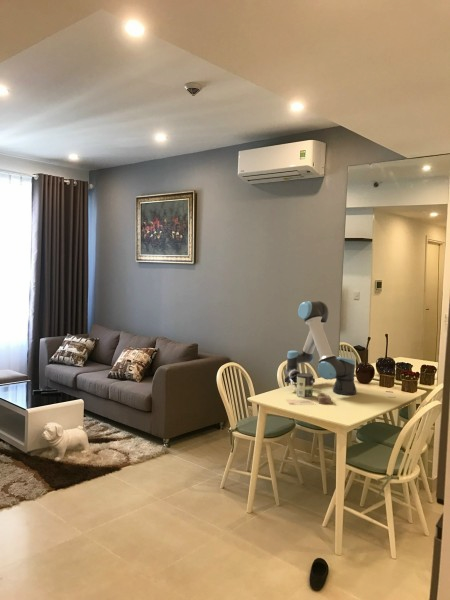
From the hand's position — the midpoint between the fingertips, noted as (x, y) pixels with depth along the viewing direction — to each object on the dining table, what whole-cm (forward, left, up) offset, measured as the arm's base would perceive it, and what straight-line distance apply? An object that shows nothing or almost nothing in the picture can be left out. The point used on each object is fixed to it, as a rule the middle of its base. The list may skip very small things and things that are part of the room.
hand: (302, 383), depth 312 cm
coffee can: (0, +5, -8) cm, 9 cm away
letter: (+6, +19, -7) cm, 21 cm away
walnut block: (-9, +19, -8) cm, 22 cm away
